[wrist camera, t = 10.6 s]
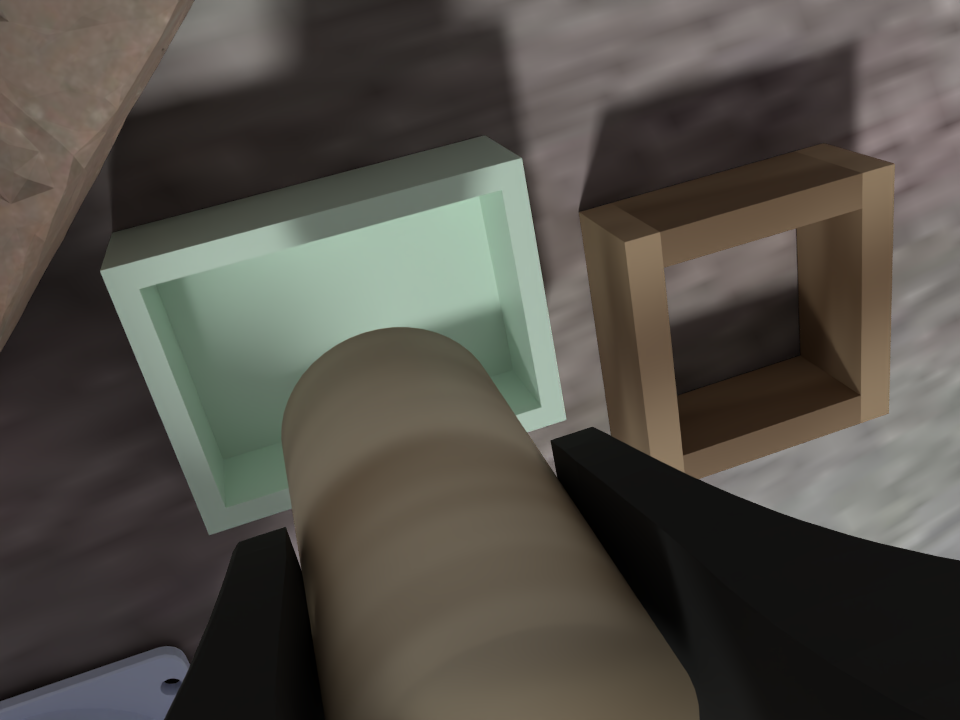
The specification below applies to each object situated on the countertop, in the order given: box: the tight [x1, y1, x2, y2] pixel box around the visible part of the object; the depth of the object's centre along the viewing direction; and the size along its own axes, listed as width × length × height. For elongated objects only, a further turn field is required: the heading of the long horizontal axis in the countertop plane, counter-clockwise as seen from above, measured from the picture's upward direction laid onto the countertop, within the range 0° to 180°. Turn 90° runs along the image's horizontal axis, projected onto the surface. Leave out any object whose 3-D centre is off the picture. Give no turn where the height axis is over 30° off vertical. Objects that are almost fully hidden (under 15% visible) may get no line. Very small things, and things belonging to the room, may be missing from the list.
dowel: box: [281, 327, 699, 720], centre depth 12 cm, size 4×4×7 cm
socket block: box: [579, 143, 895, 479], centre depth 21 cm, size 6×6×2 cm
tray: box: [100, 135, 566, 535], centre depth 19 cm, size 6×8×2 cm
